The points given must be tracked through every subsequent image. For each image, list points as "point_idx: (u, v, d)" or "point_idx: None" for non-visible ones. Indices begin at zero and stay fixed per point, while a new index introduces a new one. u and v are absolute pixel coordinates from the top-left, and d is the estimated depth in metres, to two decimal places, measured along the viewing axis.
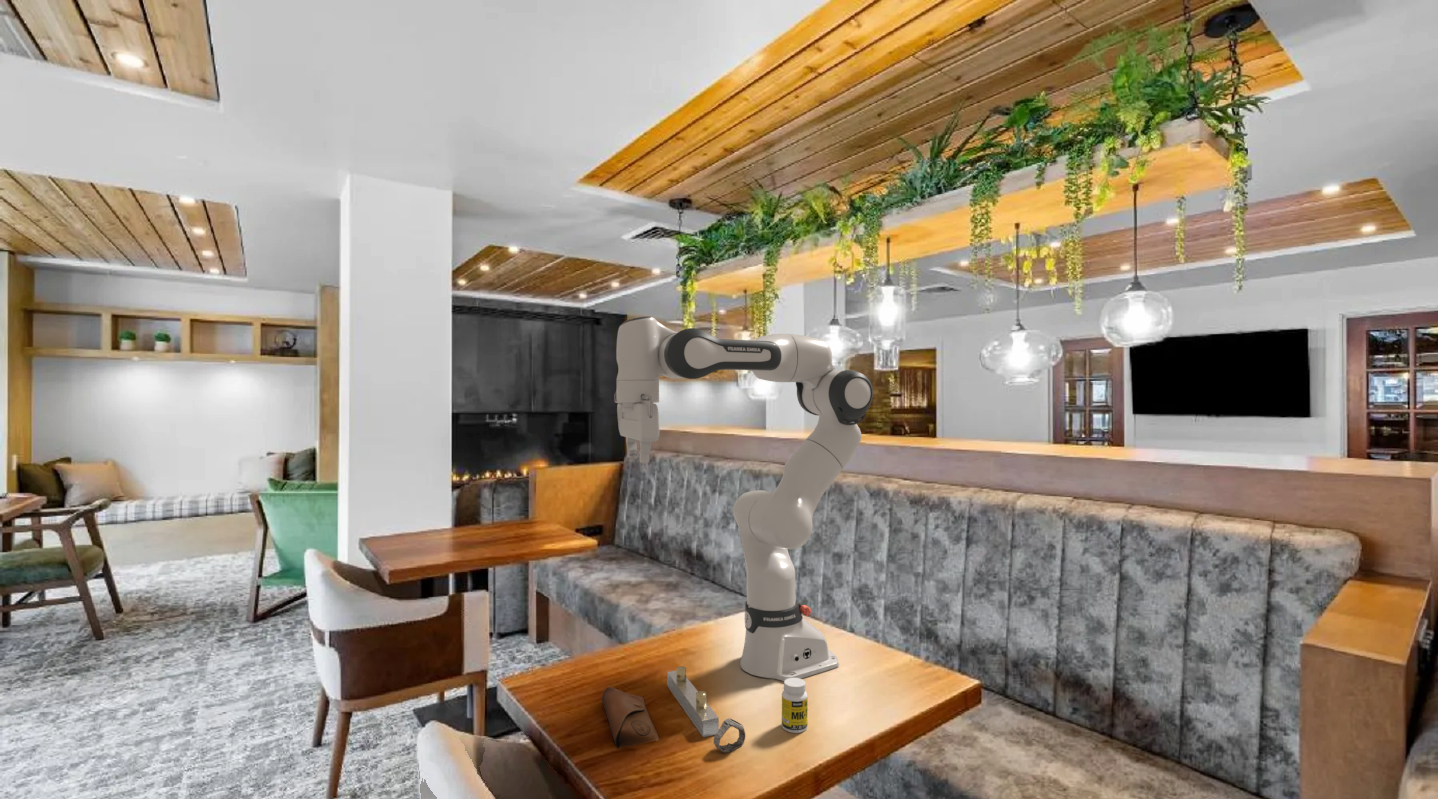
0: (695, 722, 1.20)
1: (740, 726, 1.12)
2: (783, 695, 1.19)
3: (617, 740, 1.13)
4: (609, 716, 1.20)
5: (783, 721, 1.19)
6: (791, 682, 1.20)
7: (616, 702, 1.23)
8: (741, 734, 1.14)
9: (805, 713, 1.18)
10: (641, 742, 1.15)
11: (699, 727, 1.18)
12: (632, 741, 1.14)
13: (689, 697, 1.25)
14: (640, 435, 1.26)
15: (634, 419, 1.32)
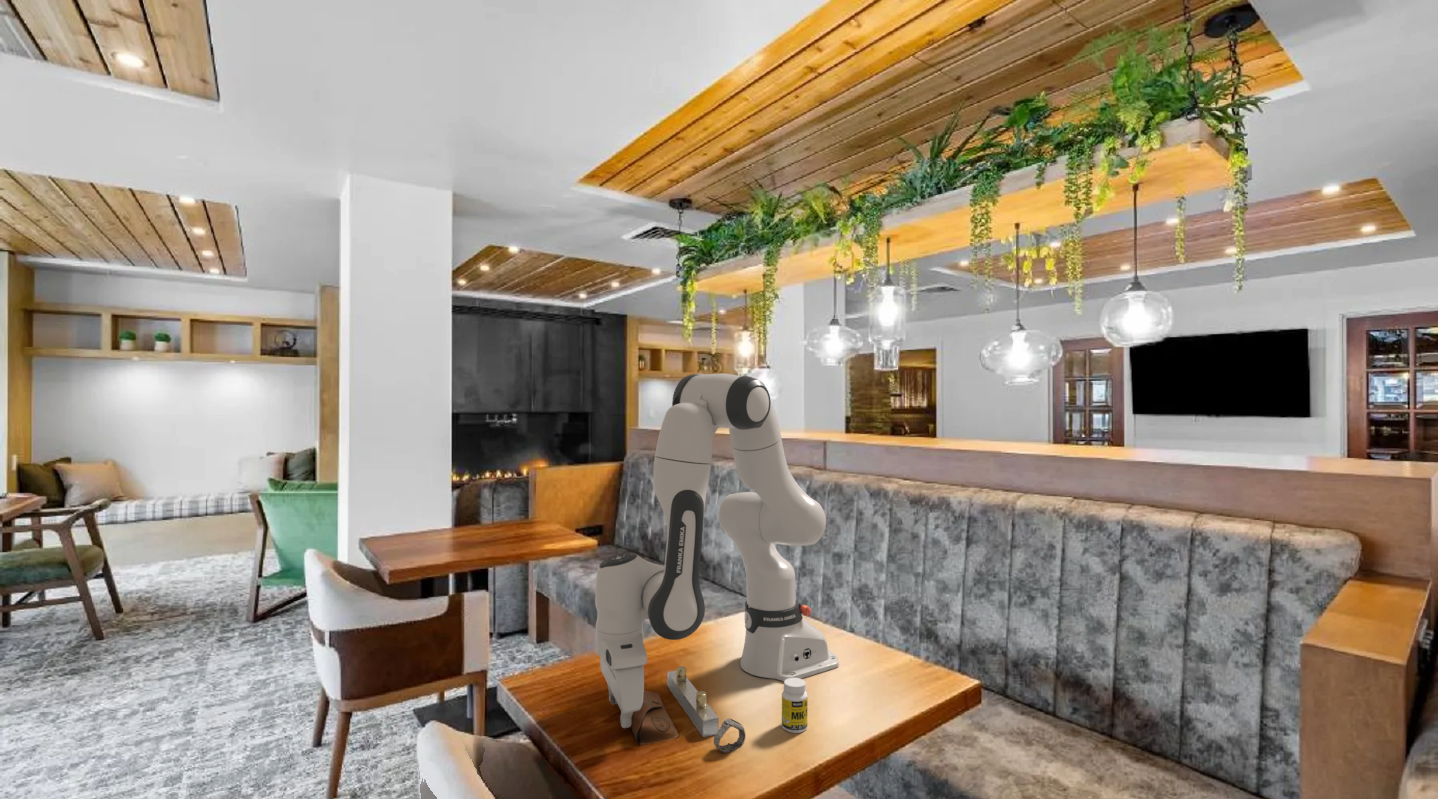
0: (695, 722, 1.20)
1: (740, 726, 1.12)
2: (783, 695, 1.19)
3: (638, 736, 1.14)
4: None
5: (783, 721, 1.19)
6: (791, 682, 1.20)
7: None
8: (741, 734, 1.14)
9: (805, 713, 1.18)
10: (661, 738, 1.15)
11: (699, 727, 1.18)
12: (652, 737, 1.15)
13: (689, 697, 1.25)
14: None
15: None
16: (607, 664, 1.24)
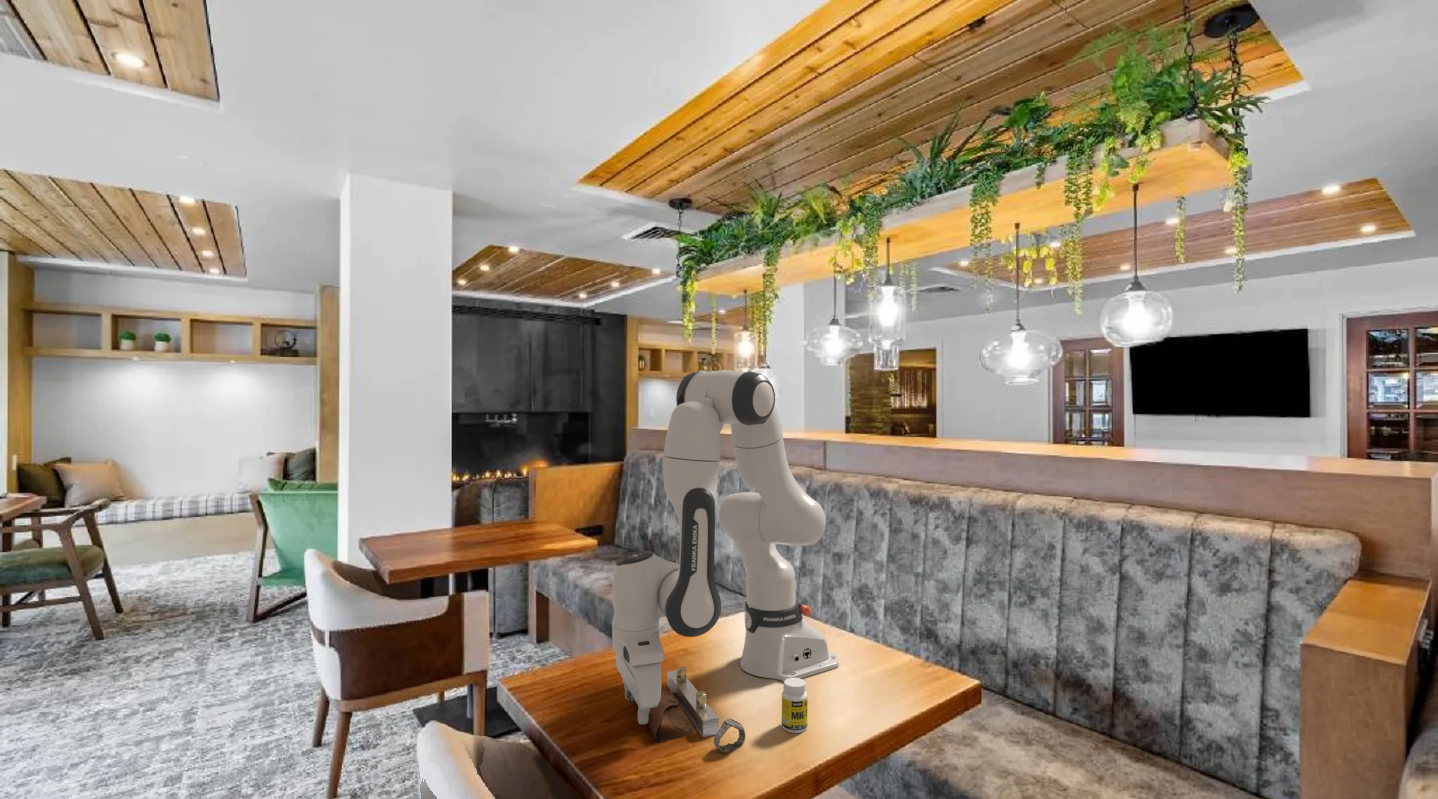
0: (695, 722, 1.20)
1: (740, 726, 1.12)
2: (783, 695, 1.19)
3: (657, 735, 1.15)
4: None
5: (783, 721, 1.19)
6: (791, 682, 1.20)
7: None
8: (741, 734, 1.14)
9: (805, 713, 1.18)
10: (680, 736, 1.16)
11: (699, 727, 1.18)
12: (671, 735, 1.16)
13: (689, 697, 1.25)
14: None
15: None
16: (623, 661, 1.25)
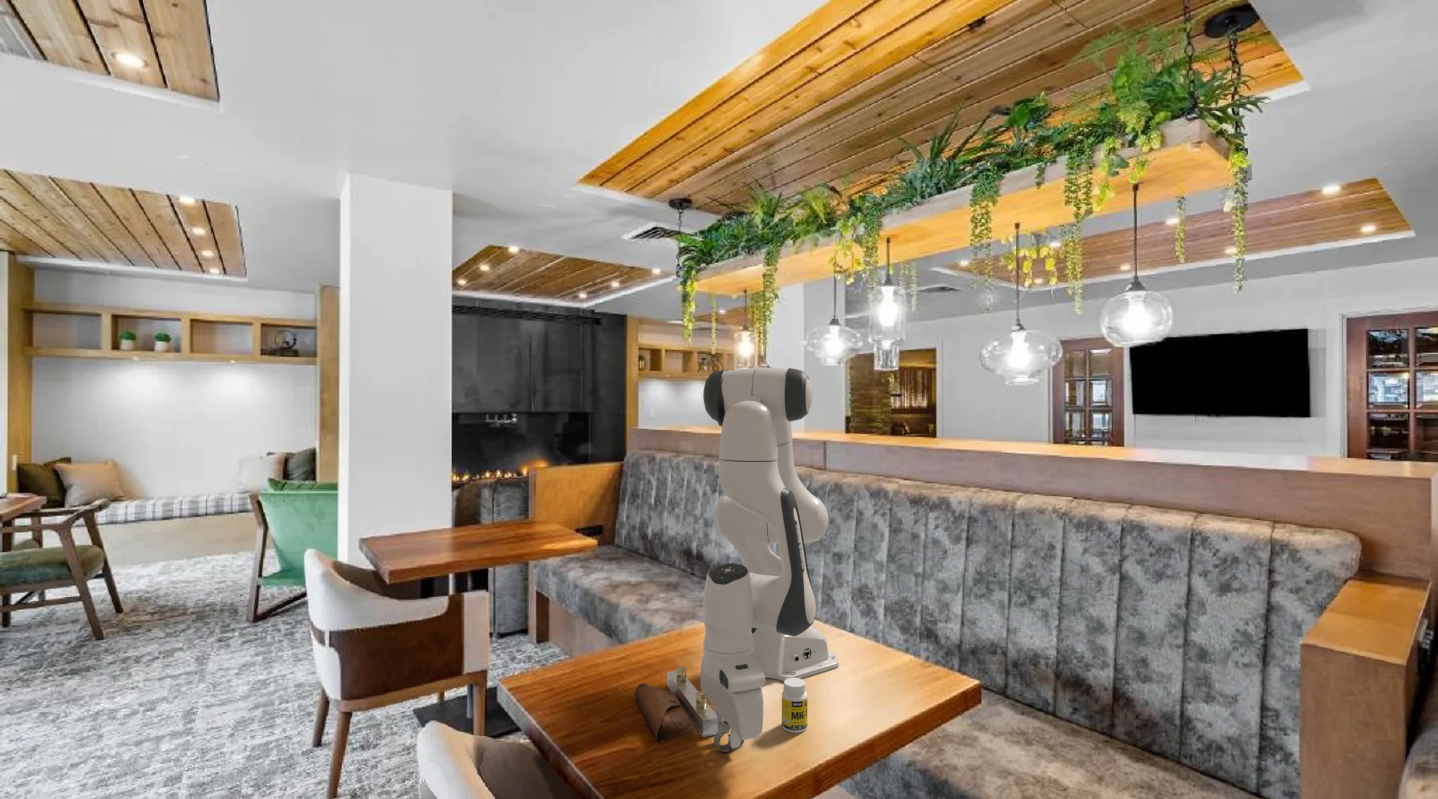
0: (695, 722, 1.20)
1: None
2: (783, 695, 1.19)
3: (658, 735, 1.15)
4: (646, 712, 1.21)
5: (783, 721, 1.19)
6: (791, 682, 1.20)
7: (652, 698, 1.24)
8: None
9: (805, 713, 1.18)
10: (681, 736, 1.16)
11: (699, 727, 1.18)
12: (672, 735, 1.16)
13: (689, 697, 1.25)
14: None
15: None
16: (713, 685, 1.15)
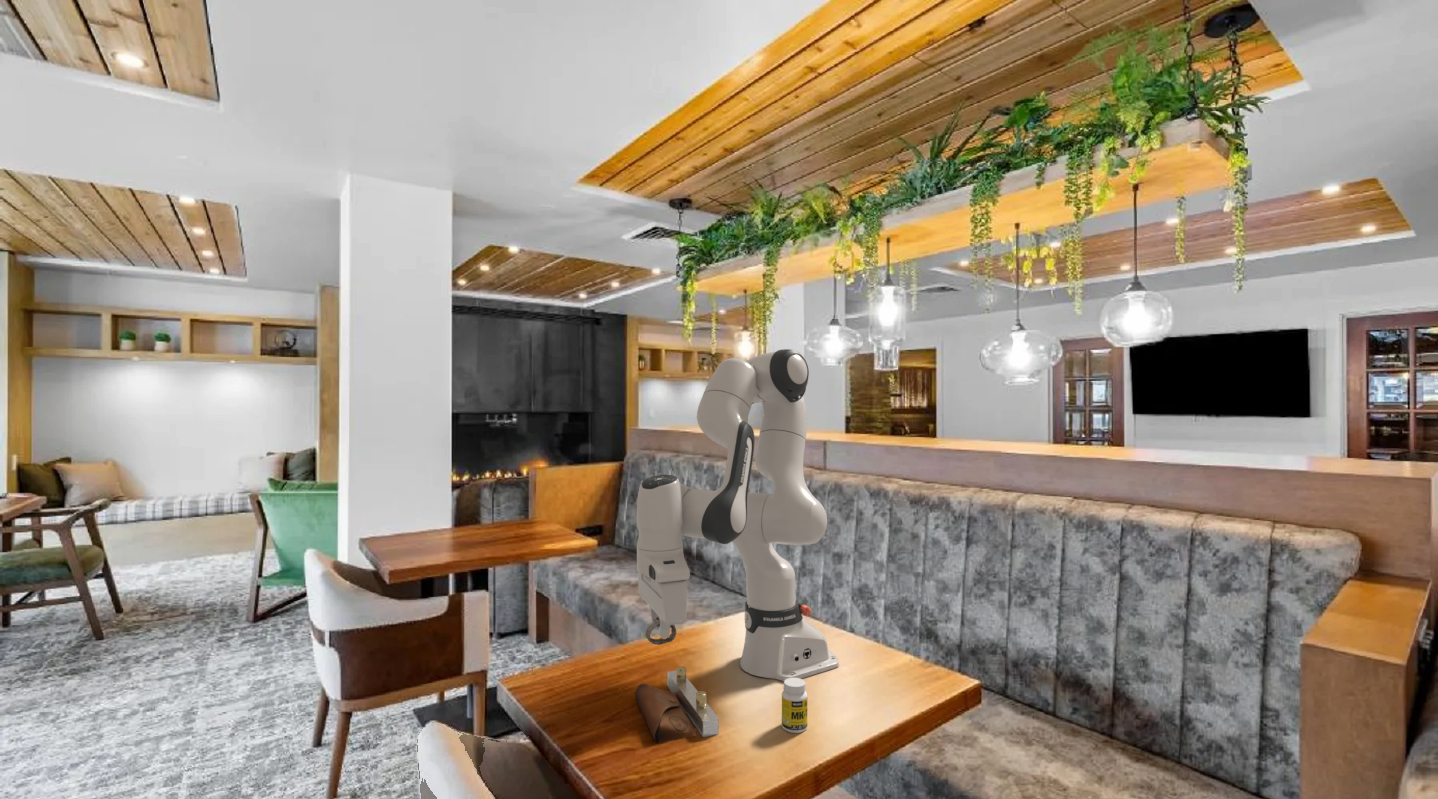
0: (695, 722, 1.20)
1: None
2: (783, 695, 1.19)
3: (656, 736, 1.15)
4: (645, 712, 1.21)
5: (783, 721, 1.19)
6: (791, 682, 1.20)
7: (652, 698, 1.24)
8: (673, 631, 1.26)
9: (805, 713, 1.18)
10: (679, 737, 1.16)
11: (699, 727, 1.18)
12: (670, 736, 1.16)
13: (689, 697, 1.25)
14: None
15: None
16: (647, 585, 1.26)
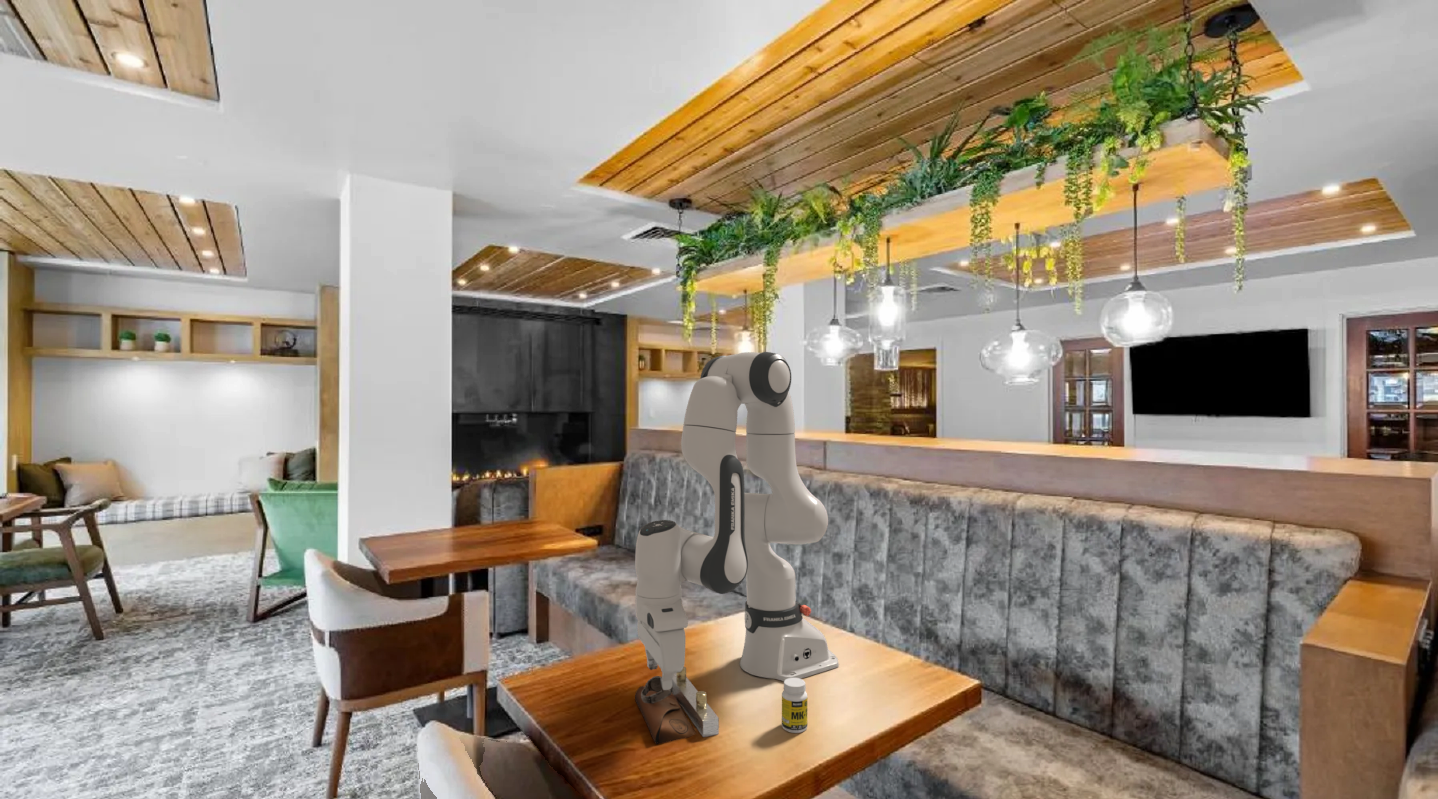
0: (695, 722, 1.20)
1: (655, 676, 1.26)
2: (783, 695, 1.19)
3: (657, 738, 1.14)
4: (646, 715, 1.21)
5: (783, 721, 1.19)
6: (790, 682, 1.20)
7: None
8: None
9: (805, 713, 1.18)
10: None
11: (699, 727, 1.18)
12: (671, 739, 1.15)
13: (689, 697, 1.25)
14: None
15: None
16: (646, 630, 1.27)
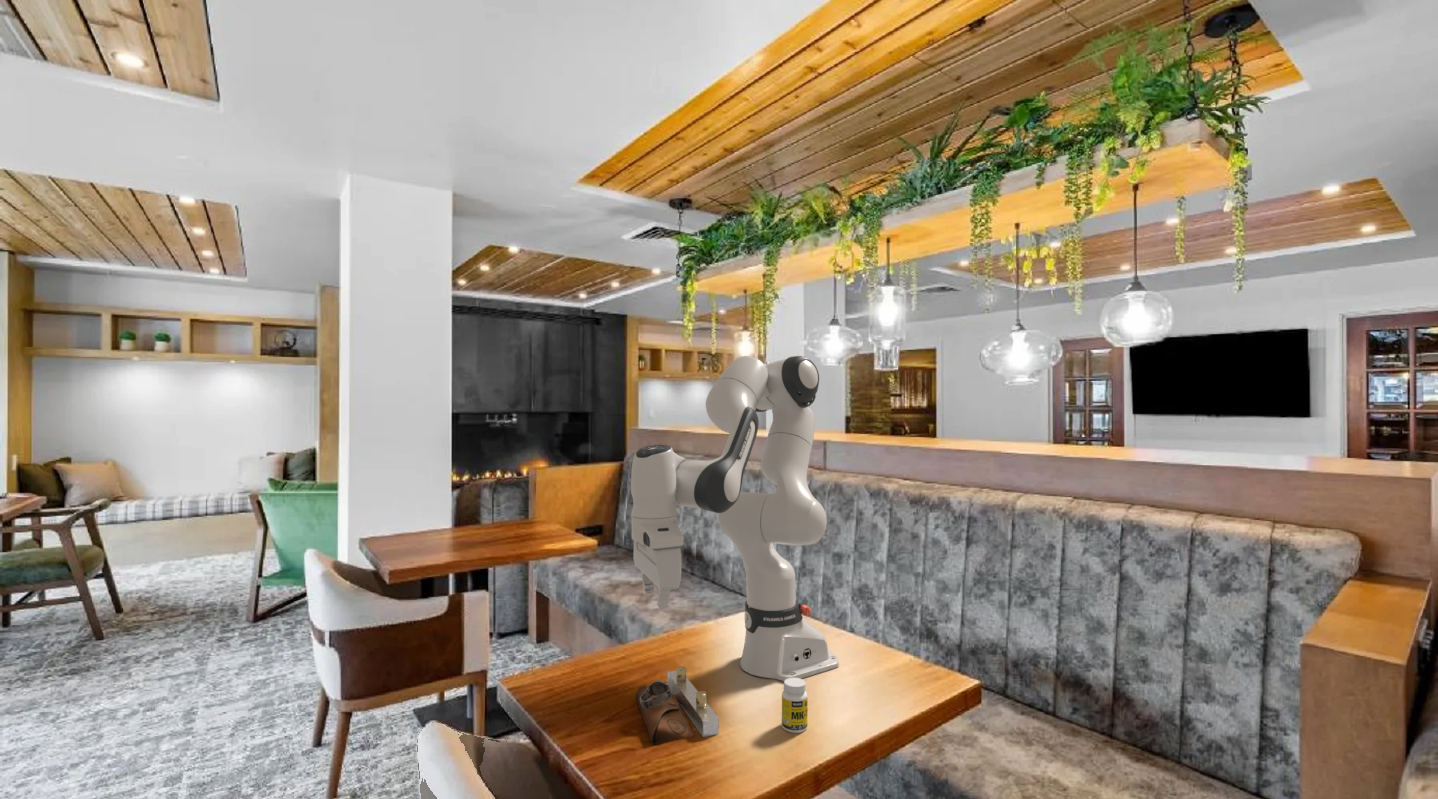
0: (695, 722, 1.20)
1: None
2: (783, 695, 1.19)
3: (654, 738, 1.14)
4: (644, 714, 1.21)
5: (783, 721, 1.19)
6: (791, 682, 1.20)
7: None
8: None
9: (805, 713, 1.18)
10: None
11: (699, 727, 1.18)
12: (668, 739, 1.15)
13: (689, 697, 1.25)
14: None
15: None
16: (642, 553, 1.28)
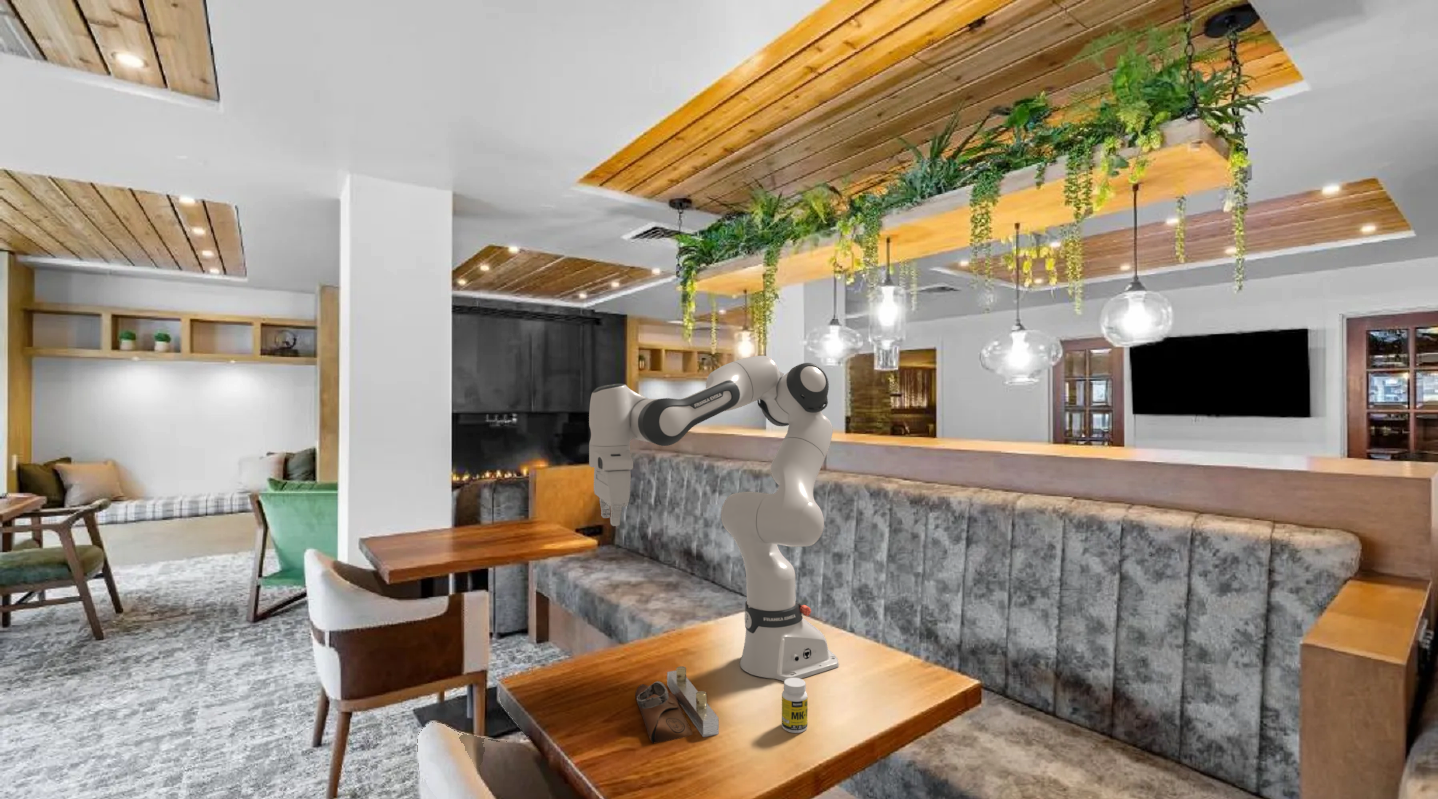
0: (695, 722, 1.20)
1: (658, 681, 1.24)
2: (783, 695, 1.19)
3: (653, 737, 1.15)
4: (644, 713, 1.22)
5: (783, 721, 1.19)
6: (791, 682, 1.20)
7: None
8: None
9: (805, 713, 1.18)
10: None
11: (699, 727, 1.18)
12: (667, 738, 1.15)
13: (689, 697, 1.25)
14: None
15: None
16: (599, 481, 1.43)
